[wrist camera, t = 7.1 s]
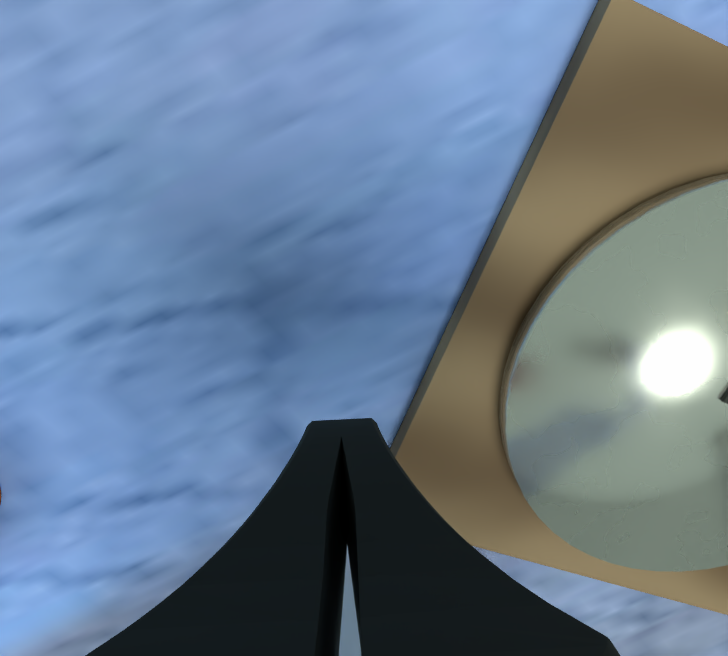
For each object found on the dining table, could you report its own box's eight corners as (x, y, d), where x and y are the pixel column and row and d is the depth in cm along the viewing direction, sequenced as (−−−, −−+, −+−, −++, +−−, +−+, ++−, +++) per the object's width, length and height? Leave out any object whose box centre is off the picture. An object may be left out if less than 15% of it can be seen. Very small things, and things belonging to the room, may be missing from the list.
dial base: (746, 606, 27) (782, 651, 25) (365, 500, 24) (368, 542, 21) (1069, 225, 20) (1159, 240, 18) (599, -3, 17) (639, -19, 14)
